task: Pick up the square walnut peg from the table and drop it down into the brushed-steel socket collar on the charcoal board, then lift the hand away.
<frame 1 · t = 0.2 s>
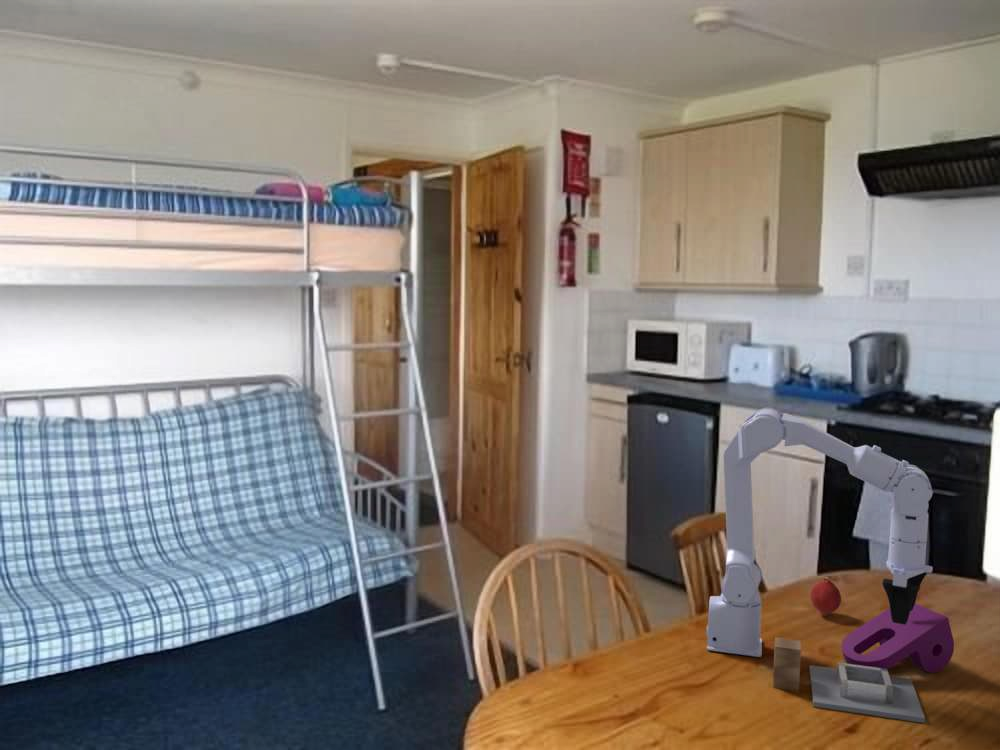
hand: (902, 615, 148), 10 cm above the table, tool pointing down, fingers open, 7 cm apart
onion: (824, 616, 175), on the table
socket board: (863, 694, 141), on the table
mounting bracket: (889, 664, 152), on the table, touching socket board
walnut peg: (785, 684, 144), on the table
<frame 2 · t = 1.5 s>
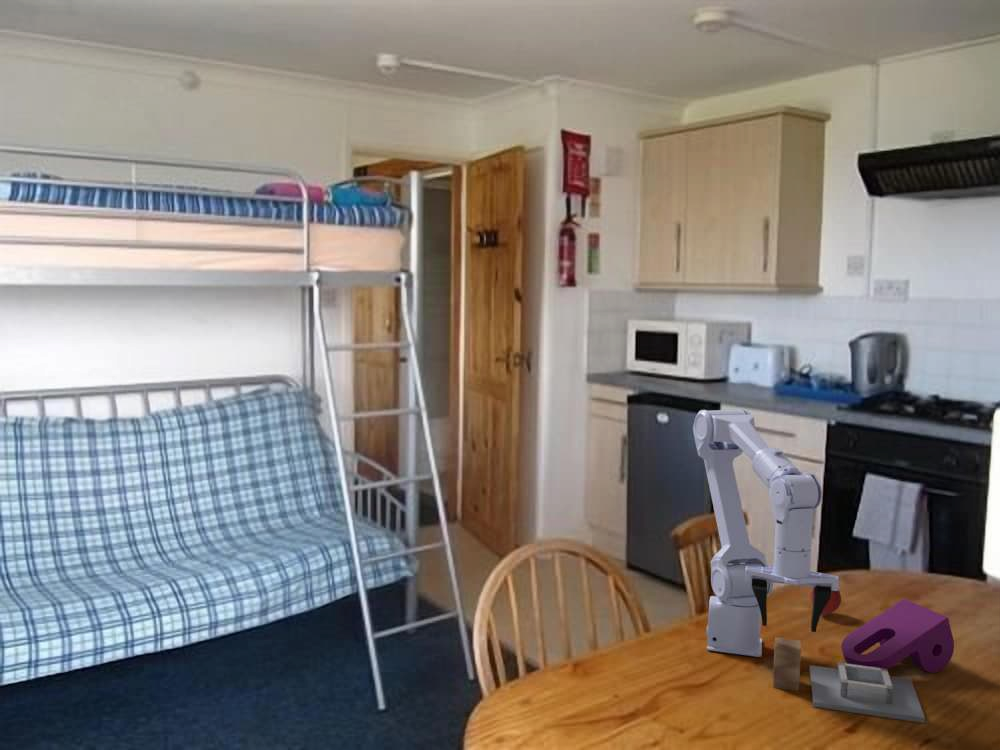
hand: (788, 626, 143), 10 cm above the table, tool pointing down, fingers open, 7 cm apart
nothing on the table moved.
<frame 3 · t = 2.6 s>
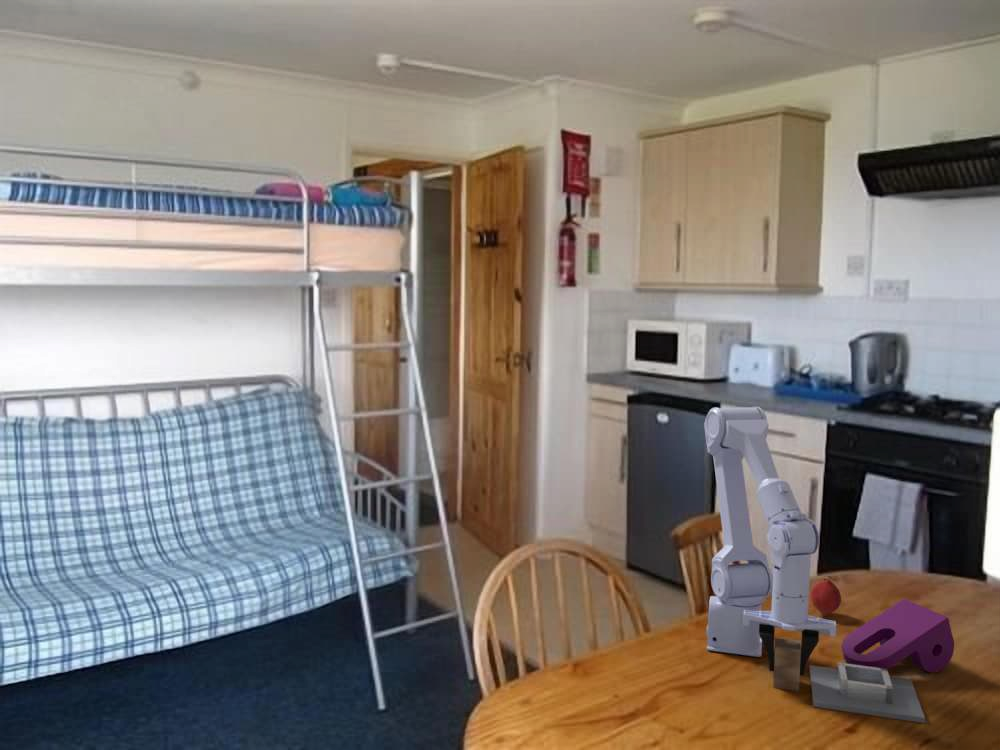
hand: (786, 671, 144), 2 cm above the table, tool pointing down, fingers closed on walnut peg, 4 cm apart
walnut peg: (785, 683, 144), on the table, touching gripper
everything else where it was.
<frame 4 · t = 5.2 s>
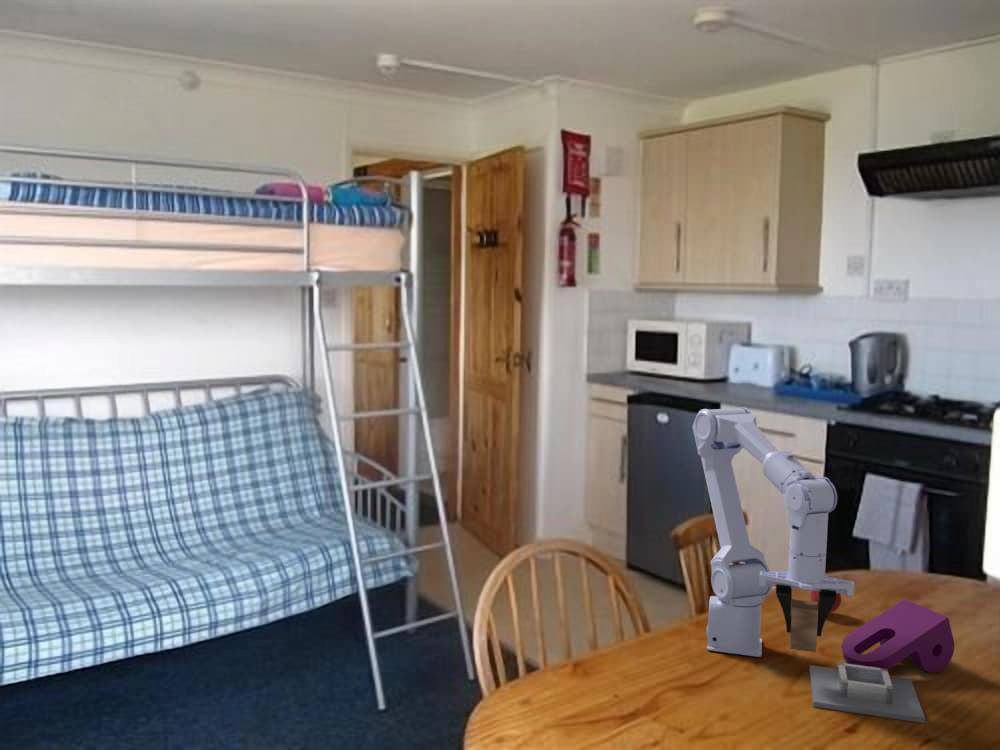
hand: (803, 632, 143), 9 cm above the table, tool pointing down, fingers closed on walnut peg, 4 cm apart
walnut peg: (802, 645, 143), point 7 cm above the table, touching gripper
everything else where it was.
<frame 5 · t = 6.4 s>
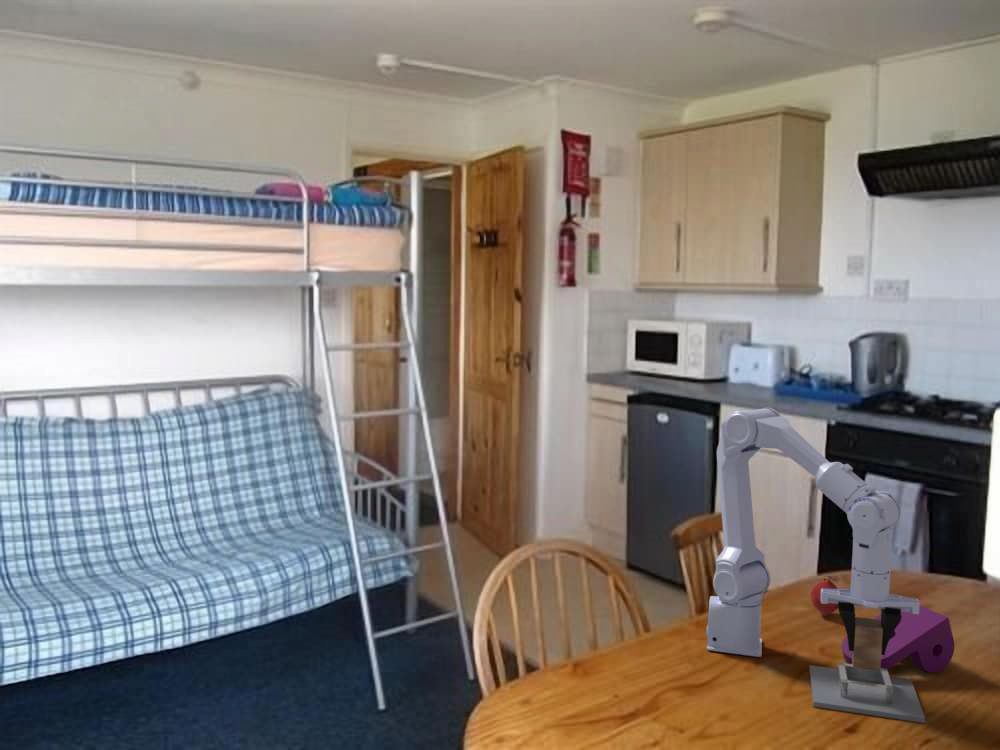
hand: (866, 650, 140), 7 cm above the table, tool pointing down, fingers closed on walnut peg, 4 cm apart
walnut peg: (865, 664, 140), point 5 cm above the table, touching gripper
everything else where it was.
when the fingers open (4 cm above the table, at t = 7.4 s): walnut peg drops 1 cm, resting on socket board.
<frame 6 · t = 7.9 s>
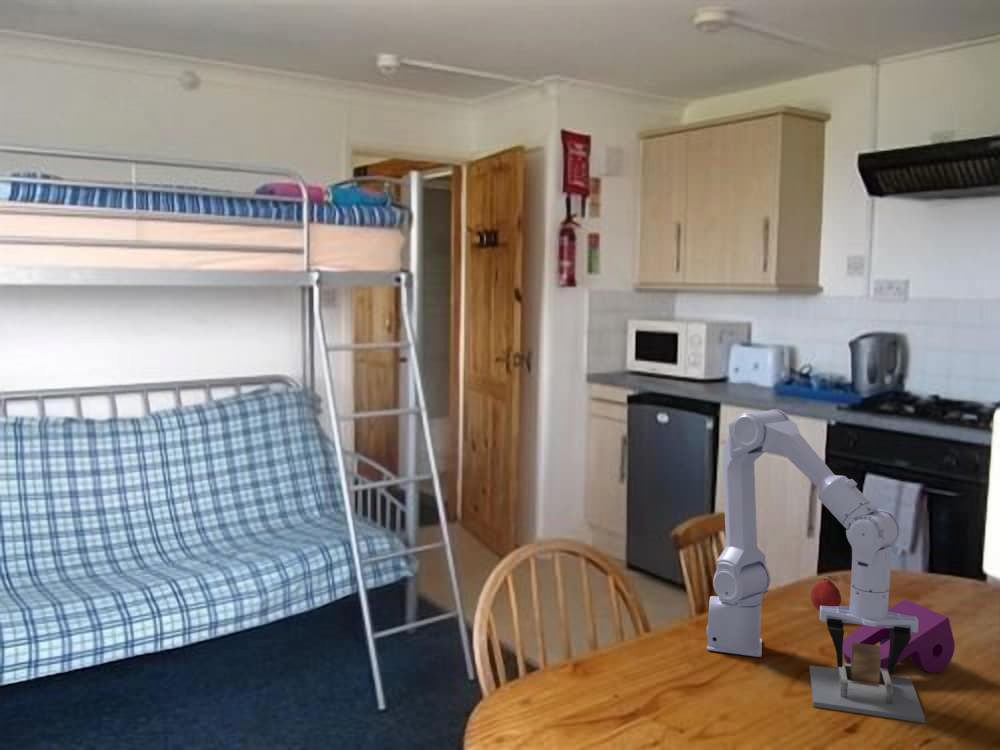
hand: (864, 668, 140), 5 cm above the table, tool pointing down, fingers open, 7 cm apart
walnut peg: (863, 690, 141), point 1 cm above the table, touching socket board
everything else where it was.
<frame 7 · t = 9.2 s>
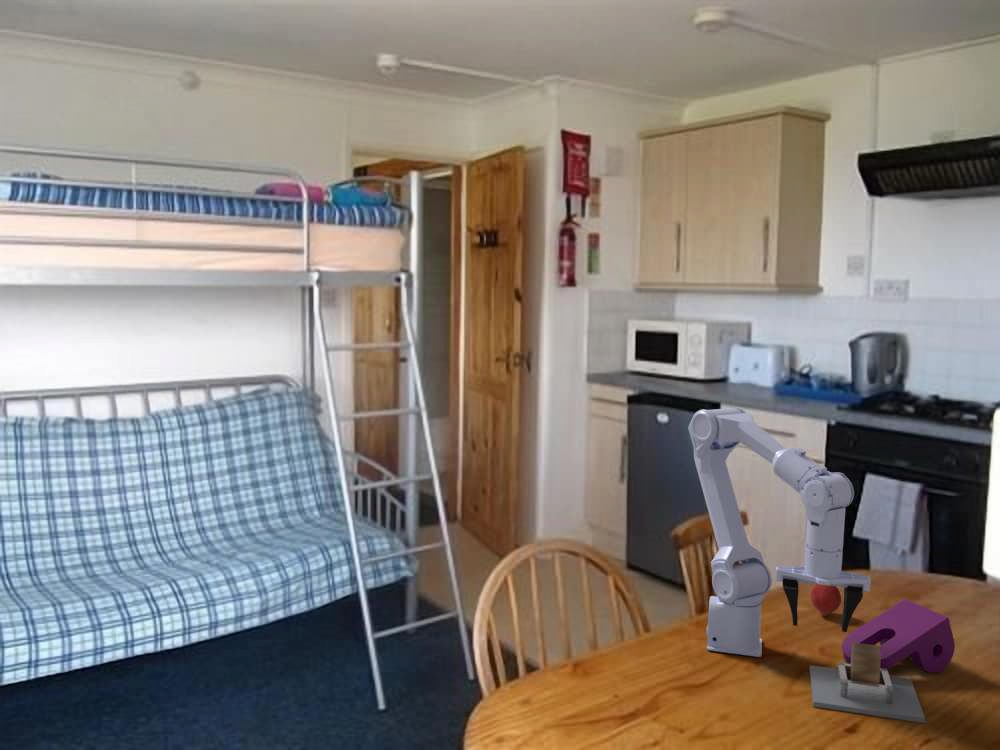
hand: (819, 626, 144), 10 cm above the table, tool pointing down, fingers open, 7 cm apart
nothing on the table moved.
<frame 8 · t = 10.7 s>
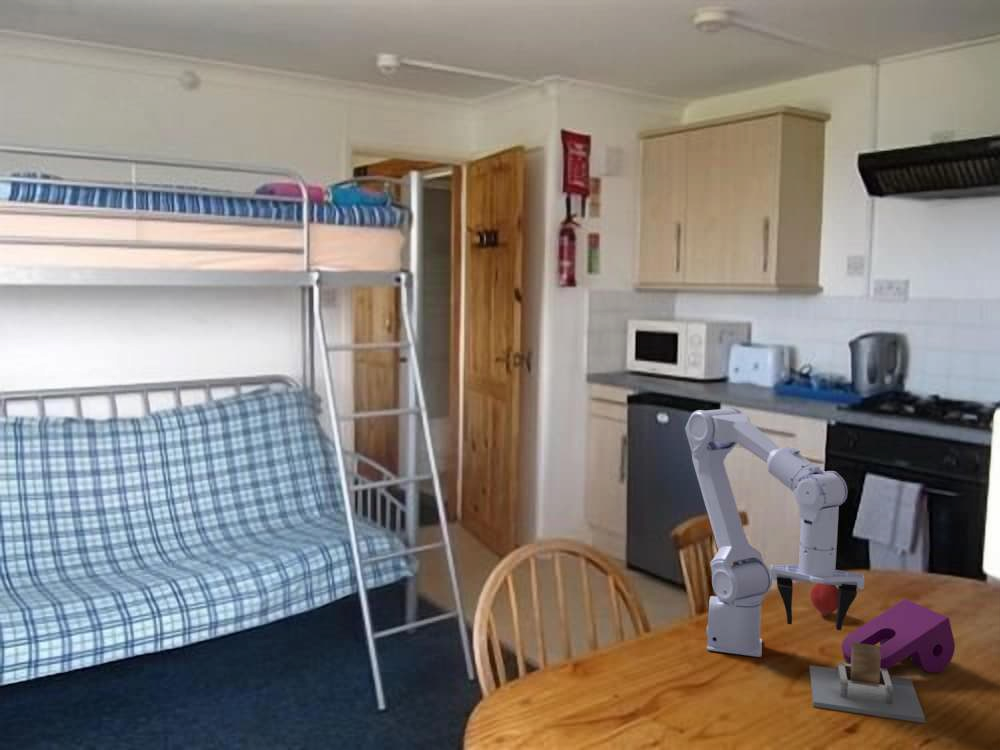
hand: (813, 625, 144), 10 cm above the table, tool pointing down, fingers open, 7 cm apart
nothing on the table moved.
at the end: walnut peg 0.1 cm off-centre on the socket board, point 0.8 cm above the socket board's base; walnut peg tilted 0°; the gripper is holding nothing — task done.
